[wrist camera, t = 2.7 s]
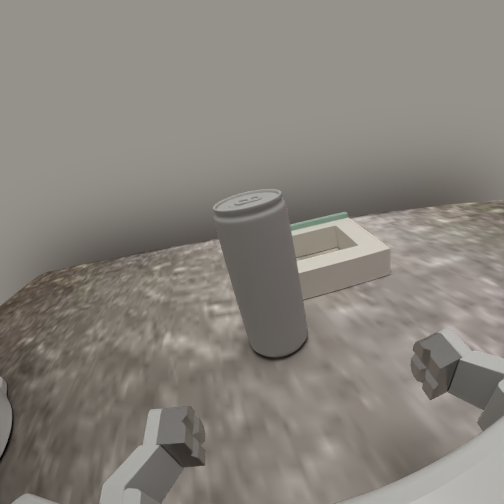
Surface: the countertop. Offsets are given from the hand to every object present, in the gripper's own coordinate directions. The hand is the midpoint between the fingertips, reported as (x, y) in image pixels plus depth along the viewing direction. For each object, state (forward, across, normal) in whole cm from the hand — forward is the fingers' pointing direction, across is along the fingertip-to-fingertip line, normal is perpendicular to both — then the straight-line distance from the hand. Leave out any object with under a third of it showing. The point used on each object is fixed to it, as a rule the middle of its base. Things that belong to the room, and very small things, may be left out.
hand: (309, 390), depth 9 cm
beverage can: (+12, 0, +8) cm, 15 cm away
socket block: (+23, -7, +8) cm, 25 cm away
